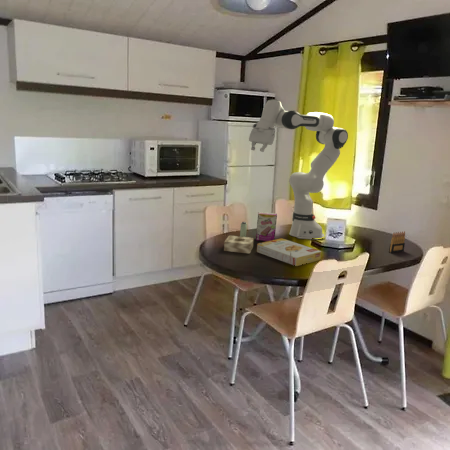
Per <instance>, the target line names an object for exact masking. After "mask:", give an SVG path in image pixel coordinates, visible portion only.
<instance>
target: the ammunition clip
mask: <svg viewBox="0 0 450 450" xmlns="http://www.w3.org/2000/svg"><path fill="white" fill-rule="evenodd" d="M405 241H406V231H405V230H404V231H395V232H393V233H392V235H391V240H390V244H389V249H388V253H390V254H395V253H394V252H396V253H401V251H403V252H405V244H406V243H405Z"/></svg>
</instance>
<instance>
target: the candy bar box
mask: <svg viewBox="0 0 450 450" xmlns="http://www.w3.org/2000/svg"><path fill="white" fill-rule="evenodd" d="M277 218H278V214H277V213H275V212H274V213H273V212H265V211H264V212H263V211H258V212H257V223H256V231H255V232H256V234H255V241H260V242H267V241H271V240H276V231H277V230H276V229H277Z"/></svg>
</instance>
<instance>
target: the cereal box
mask: <svg viewBox="0 0 450 450" xmlns="http://www.w3.org/2000/svg"><path fill="white" fill-rule="evenodd" d="M256 253H259V254H262V255H265V256H267V257H269V258H273V259H276V260H278V261H281V262H283V263H286V264H289V265H292V266H294V265H295V267H298V266H303V265H307V264H309V263H314V262H317V261H320V260H322V250H319V249H316V248H313V247H309V246H306V245H304V244H300V243H297V242H295V241H292V240H289V239H285V238H281V237H280V238H275V240H271V241H262V242H259V243H257V244H256ZM306 263H307V264H306ZM302 264H303V265H302Z"/></svg>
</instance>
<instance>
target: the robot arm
mask: <svg viewBox="0 0 450 450" xmlns="http://www.w3.org/2000/svg"><path fill="white" fill-rule="evenodd" d="M334 125H335V119H334V117H333V116H332V114H328V113H325V112H320V111H319V112H318V111H314V112H307V114H301V113H300V112H298V111H297V110H285V108H284V106H282V102H281V101H280V100H278V99H275V98H274V99H272V98H271V99H268V100H267V101H266V103H265V105H264V107H263V110H262V113H261V117H260V118H259V121H258V122H255V123H253V124H252V128H251V130H250V133H249V137H248V141H249V142H250V143H251V147H250V150H251V151H255V150H256V147H255V146H256V145H257V144H260V145H262V147H260V148H259V151H260V152H262V153H264V152H265V150H266V148H267V147H268V146H269V145H270V146H272V145H273V144H274V141H275V137H276V129H275V127H276V128H277V129H278V128H279V129H287V130H295V129H298V128H299V127H304V128H305V129H306V130H308V131H313V132H316V133H315V139H316V142H317V143H319V144H321V145H324V147H323V149H322V150H321V151H320V152H319V153H318V154H317V156H316V157H315V158H314V159H313V160H312V161H311V163H310V170H309V172H303V171H299V172H293V173H291V174H290V175H289V178H288V182H289V186H290V187H291V189H292V191H293V197H294V207H293V212H292V224H291V227H290V231H289V233H288V234H289V235H290V236H292V237H296V238H297V239H300V240H301V239H302V240H305V239H306V240H313V239H312V238H322V237H324V233H323V227H322V226H321V225H320V224H319V223H318V221H316V220H315V219H316V216H315V214H314V213H313V205H314V200H313V199H312V197H311V196H310V193H311V194H315V193H316V194H319V193H320V192H321V191H322V190H323V188H324V178H325V175H326V174H327V173H328V171H329V170H330V169H331V168H332V166H334V164H335V163H336V162H337V160H338V158H339V157H340V154H341V149H342V148H343V147H344V146H345V144H346V143H347V142H348V139H349V132H348V131H347V130H346V129H344V128H342V127H335V126H334Z"/></svg>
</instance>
